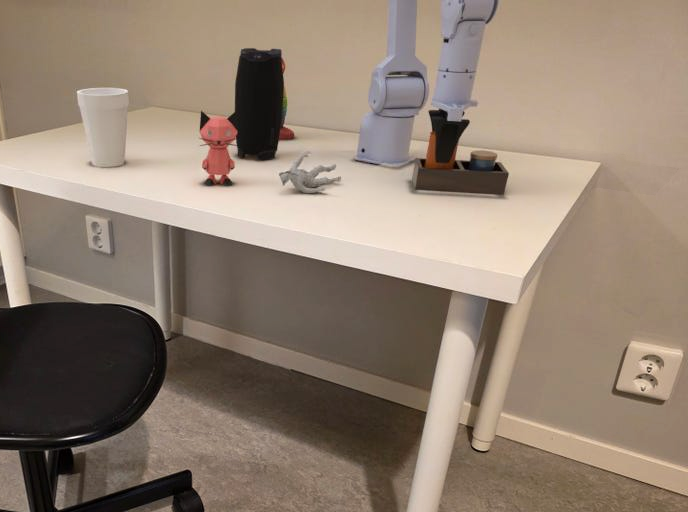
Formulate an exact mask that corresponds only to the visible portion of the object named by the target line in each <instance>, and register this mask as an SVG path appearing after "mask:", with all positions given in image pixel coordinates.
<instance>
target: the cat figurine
mask: <svg viewBox="0 0 688 512" xmlns="http://www.w3.org/2000/svg"><path fill="white" fill-rule="evenodd" d="M237 133H238V126H237V111H235V110H234V112H233V113H232V114H230V115H229V116H228V117H227V118H226V117H223V116H213V117H209V116H208V115H207V114H206V113H205V112H204V111H203V110H200V120H199V134H200V137H199V139H200V140H202V141H203V142H204V143H205V144H199V145H198V146H200V147H202V146H208V147H209V149H208V152H207V155H206V157H205V159H204V160H202V165H201V168H202V169H203V170H204V171H205V172H206V173H207V174H208V176H207V178H206V179H205V180H204V182H203V185H204V186H214V185H216V184H217V183H218V181H217V178H216V176H221V177H220V179H219V183H220V184H221V185H222V186H232V185H233V182H232V180H231V178H230V177H229V176H228V175H229V174H230V172H231V171H233V170H234V169H235V168H236V165H235V161H234V160H233V159H232V158H231V155H230V152H229V150H228V147H229V146H234V147H235V146H236V147H237V146H239V145H237V144H234V143H233V142H234V141H235V140H236V139H238V138H236V135H237ZM232 143H233V144H232Z"/></svg>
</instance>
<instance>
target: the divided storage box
mask: <svg viewBox="0 0 688 512" xmlns="http://www.w3.org/2000/svg"><path fill="white" fill-rule="evenodd" d="M414 158H415V159H414V164H413V169H412V177H411V180H412V185H413V188H414V191H429V192H430V191H431V192H445V193H461V194H462V193H464V194H482V195H495V196H497V195H498V196H499V195H500V196H504V195H505V191H506V187H507V183H508V180H509V175H510V173H509V171H508V170H507V169H506V167H505V166H504V164H503V163H502V162H501V161H496V162H495V166H494V170H493V171H477V170H468V166H469V161H470V160H467V159H465V160H463V159H455V162H454V167H453V169H438V168H425V162H426V157H424V158H423V157H414Z"/></svg>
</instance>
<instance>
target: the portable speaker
mask: <svg viewBox="0 0 688 512" xmlns="http://www.w3.org/2000/svg"><path fill="white" fill-rule="evenodd" d="M282 54H283V53H282V49H281V48H271V49H269V50H267V49H265V50H263V49H257V48H255V47H245V48H242V49H240V54H239V56H238V63H237V70H236V75H235V76H236V77H235V81H234V82H235V83H234V112H235V111H237V126H238V133H237V135H236V137H235V140H236V141H235V142H236V145H239V146H236V148H237V157H238V158H240V159H245V157H246V156H251V157H256V158H257V160H259V161H267V160H268V161H269V160H273V159H275V156H276V154H277V152H278V147H279V143H280V142H279V141H280V139H279V136H280V130H281V123H282V115H283V96H284V87H285V80H284V79H285V78H284V73H283V68H282V59H281V57H282V56H283V55H282ZM236 138H238V139H236Z"/></svg>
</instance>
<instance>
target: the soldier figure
mask: <svg viewBox="0 0 688 512" xmlns="http://www.w3.org/2000/svg"><path fill="white" fill-rule="evenodd" d="M311 153H312V152H311V151H310V150H308V151H305V152H304V153H302V155H300V156H299V157H298V158H297V159H296V160H295V161H294V163H293V164H292V166H291V167H290V168H289V169H288V170H286V171H283V172H282V171H281V172H279V173H278V176H279V178H280V181H281V183H282V185H283V187H285V185H286V184H287V183H288V182H289V181H290V183H292V185H293V187H294V188H296V189H297V190H299V191H300V192H302V193H304V194H316V193H320V194H322V193H323V192H325V191H326V188H325V187H321V186H323V185H329V184H331V183H334V182H340V181H342V176H336V177H332V178H329V177H327V176H322V177H320V178H317V176H319V174H321V173H324V172H325V173H331V172H332V171H334V170H336V168H337V164H336V163H333V164H332V165H330V166H323V165H322V164H319V165H318V166H316V167H313V168H312V169H311V170H310V171H307V170H306V169H304V168H303V169H299V167H300V166H301V164H302V162H303V160H304V158H308V157H310V156H309V155H308V154H311Z"/></svg>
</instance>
